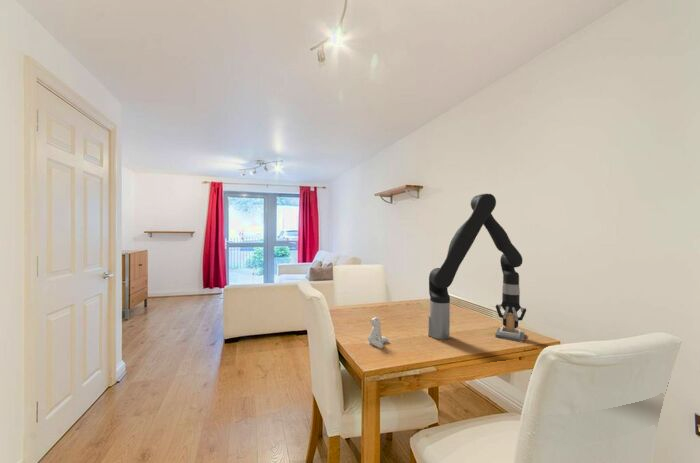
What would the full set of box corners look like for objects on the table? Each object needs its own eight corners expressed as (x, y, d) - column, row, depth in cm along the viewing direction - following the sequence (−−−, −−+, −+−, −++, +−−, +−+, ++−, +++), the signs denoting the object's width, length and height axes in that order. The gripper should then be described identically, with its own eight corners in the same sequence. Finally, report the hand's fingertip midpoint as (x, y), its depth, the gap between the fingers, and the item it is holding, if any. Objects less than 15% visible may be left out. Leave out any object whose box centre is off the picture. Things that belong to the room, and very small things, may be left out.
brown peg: (505, 330, 145) (505, 314, 145) (506, 328, 149) (506, 312, 149) (514, 332, 143) (514, 315, 143) (515, 329, 146) (515, 313, 146)
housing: (495, 336, 144) (495, 331, 144) (498, 330, 154) (498, 324, 154) (523, 342, 138) (523, 336, 138) (524, 334, 148) (524, 329, 148)
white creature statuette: (381, 349, 127) (381, 321, 127) (363, 345, 132) (364, 318, 132) (389, 342, 136) (389, 316, 136) (372, 338, 140) (372, 313, 140)
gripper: (494, 292, 146) (493, 326, 147) (527, 295, 139) (526, 332, 139) (495, 289, 153) (495, 322, 153) (527, 293, 145) (527, 327, 145)
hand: (510, 326), depth 146 cm, fingers closed on brown peg, 4 cm apart
